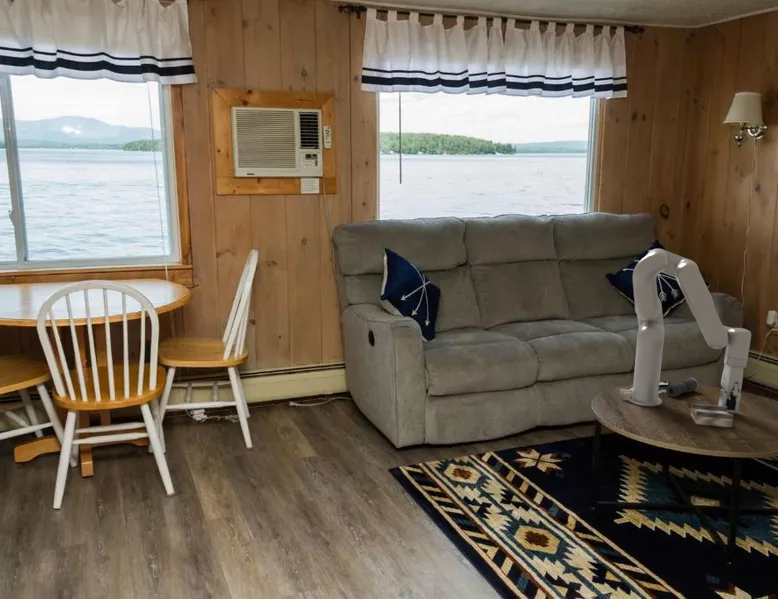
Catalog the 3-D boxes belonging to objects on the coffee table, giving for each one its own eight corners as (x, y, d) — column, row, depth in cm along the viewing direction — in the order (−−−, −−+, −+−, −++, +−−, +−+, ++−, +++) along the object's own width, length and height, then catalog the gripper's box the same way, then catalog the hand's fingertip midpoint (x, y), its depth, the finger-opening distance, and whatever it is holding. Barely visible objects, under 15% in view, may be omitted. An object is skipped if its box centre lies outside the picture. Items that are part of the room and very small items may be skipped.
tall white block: (721, 410, 255) (723, 392, 254) (718, 406, 259) (720, 388, 258) (739, 412, 254) (741, 394, 252) (735, 408, 258) (738, 390, 257)
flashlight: (676, 399, 272) (677, 386, 271) (664, 395, 276) (665, 382, 275) (697, 392, 281) (698, 379, 280) (685, 388, 285) (686, 376, 284)
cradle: (696, 424, 245) (697, 412, 244) (690, 414, 255) (691, 403, 254) (732, 427, 243) (733, 415, 242) (724, 417, 252) (726, 405, 252)
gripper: (719, 354, 261) (712, 398, 265) (730, 366, 245) (723, 414, 249) (740, 356, 260) (733, 401, 264) (753, 368, 244) (745, 416, 248)
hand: (728, 406), depth 256 cm, fingers closed on tall white block, 4 cm apart
